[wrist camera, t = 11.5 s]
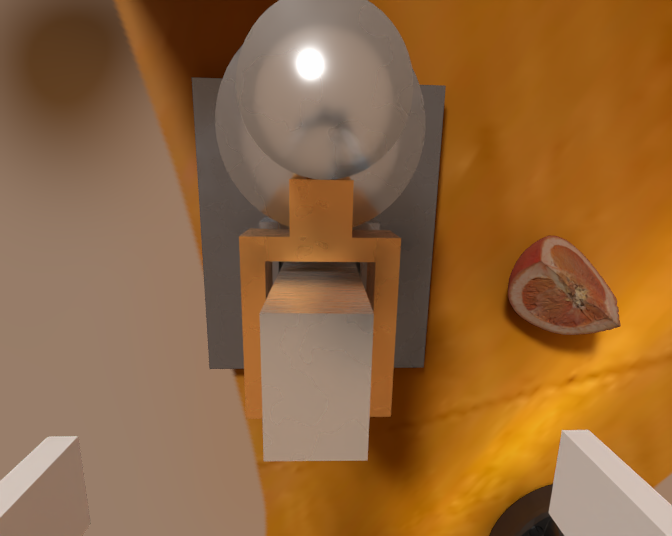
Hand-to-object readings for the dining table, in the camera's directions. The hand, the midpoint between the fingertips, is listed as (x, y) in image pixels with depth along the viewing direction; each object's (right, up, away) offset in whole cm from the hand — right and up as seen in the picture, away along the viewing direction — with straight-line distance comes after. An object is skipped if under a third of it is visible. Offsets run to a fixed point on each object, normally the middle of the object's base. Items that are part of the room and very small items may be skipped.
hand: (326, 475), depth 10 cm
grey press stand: (-1, +9, +19) cm, 21 cm away
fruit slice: (+17, +5, +21) cm, 27 cm away
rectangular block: (-1, +5, +18) cm, 19 cm away
